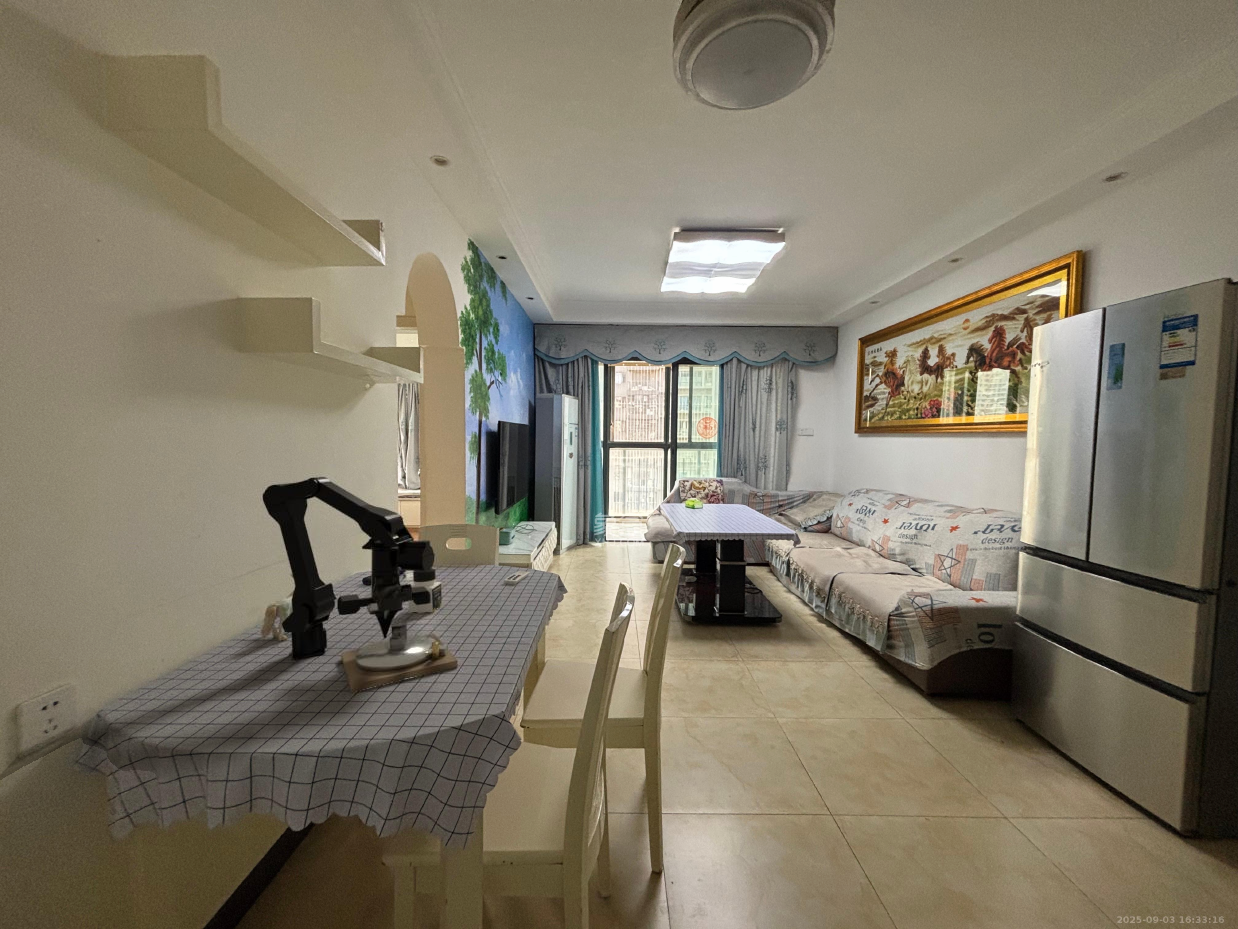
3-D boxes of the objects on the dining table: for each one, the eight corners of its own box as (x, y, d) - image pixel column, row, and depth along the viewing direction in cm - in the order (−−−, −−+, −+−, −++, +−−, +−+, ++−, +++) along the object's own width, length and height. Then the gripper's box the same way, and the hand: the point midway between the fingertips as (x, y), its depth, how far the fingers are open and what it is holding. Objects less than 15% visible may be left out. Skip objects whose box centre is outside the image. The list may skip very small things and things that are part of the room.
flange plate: (341, 672, 105) (340, 650, 105) (376, 643, 121) (375, 623, 121) (434, 669, 106) (433, 647, 106) (457, 640, 122) (456, 621, 122)
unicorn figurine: (321, 619, 146) (319, 571, 145) (292, 644, 127) (290, 589, 126) (292, 621, 144) (290, 573, 144) (259, 647, 125) (256, 592, 125)
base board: (351, 693, 100) (351, 685, 100) (341, 659, 117) (341, 652, 117) (457, 667, 111) (457, 660, 111) (434, 639, 127) (434, 633, 127)
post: (391, 651, 111) (390, 641, 111) (388, 647, 114) (388, 637, 114) (406, 648, 113) (405, 638, 113) (403, 644, 116) (403, 634, 116)
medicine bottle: (433, 613, 149) (431, 571, 148) (408, 613, 149) (406, 571, 148) (442, 605, 156) (440, 565, 155) (418, 606, 156) (416, 565, 156)
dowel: (433, 660, 111) (432, 644, 110) (431, 658, 112) (431, 642, 112) (440, 659, 111) (439, 643, 111) (438, 657, 112) (437, 641, 112)
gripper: (342, 582, 106) (341, 658, 107) (437, 572, 116) (436, 642, 117) (337, 570, 116) (336, 640, 116) (425, 562, 126) (424, 626, 126)
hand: (384, 637), depth 119 cm, fingers closed
